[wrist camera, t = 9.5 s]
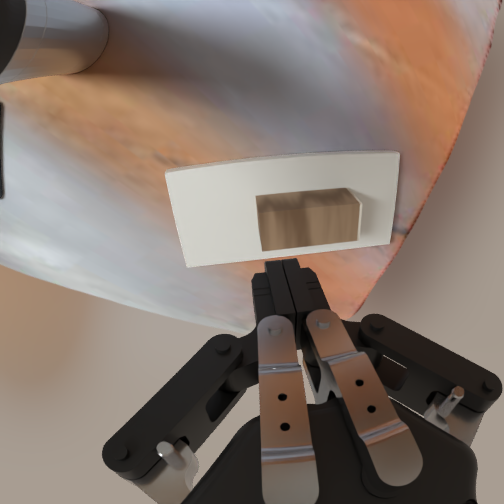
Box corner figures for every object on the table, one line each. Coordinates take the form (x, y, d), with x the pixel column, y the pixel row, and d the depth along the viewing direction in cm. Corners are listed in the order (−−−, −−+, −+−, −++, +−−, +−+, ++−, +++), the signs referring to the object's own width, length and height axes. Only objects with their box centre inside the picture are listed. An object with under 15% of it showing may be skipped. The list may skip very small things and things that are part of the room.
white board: (187, 261, 44) (186, 267, 42) (166, 169, 36) (164, 173, 35) (385, 238, 44) (389, 243, 42) (394, 150, 36) (399, 153, 35)
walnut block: (262, 251, 36) (359, 240, 36) (258, 213, 33) (362, 203, 33) (258, 230, 40) (346, 221, 40) (255, 195, 37) (347, 187, 37)
